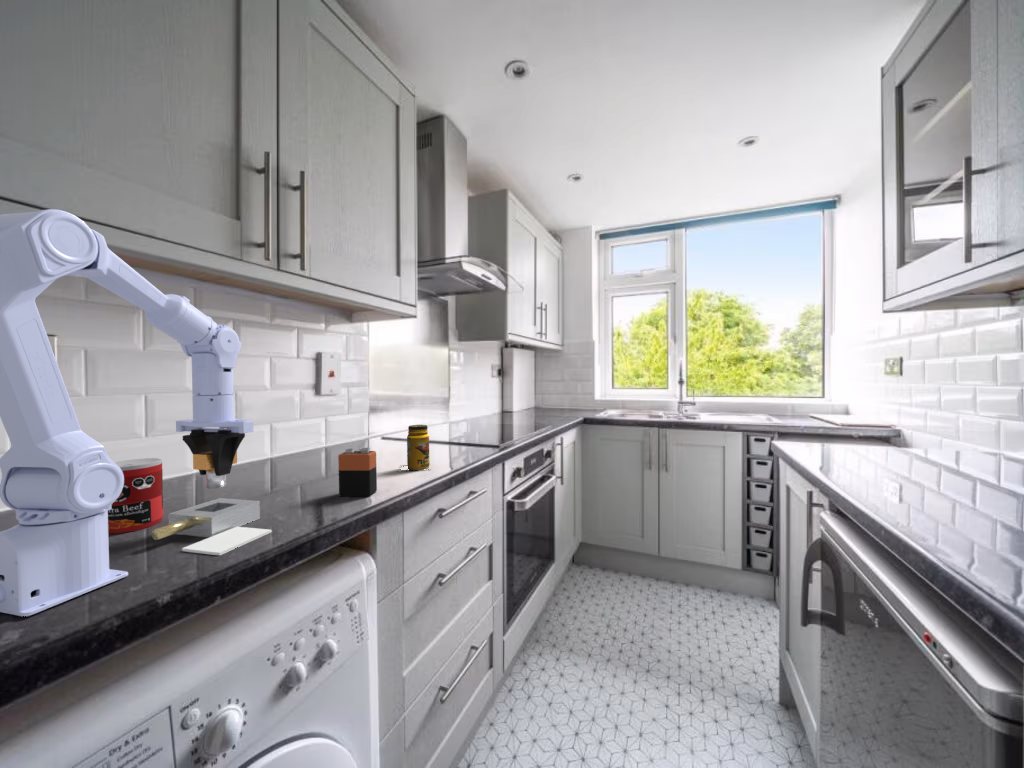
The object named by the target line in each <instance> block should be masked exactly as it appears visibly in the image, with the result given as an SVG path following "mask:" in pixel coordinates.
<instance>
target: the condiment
mask: <svg viewBox="0 0 1024 768" xmlns="http://www.w3.org/2000/svg"><path fill="white" fill-rule="evenodd" d="M428 428H429V427H428V425H426V424H412V425H411V424H410V425H409V426H408V430H407V433H408V434H407V437H406V462H407V465H405V464H404V465H403V464H402V465H401V464H400V466H401V467H402V466H403V467H404V466H408V469H409V470H424V469H427V470H426V471H430V470H432V466H431V463H430V435H429V434H428V432H429V430H428ZM400 466H399V467H400ZM429 467H431V468H430V469H429V470H428V468H429ZM399 470H400V471H399ZM399 470H398V472H399V473H401V472H410V471H409V470H407V471H406V470H403V471H401V469H400V468H399Z"/></svg>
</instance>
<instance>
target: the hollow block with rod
mask: <svg viewBox="0 0 1024 768" xmlns="http://www.w3.org/2000/svg"><path fill="white" fill-rule="evenodd" d="M260 504H261V501H260V500H252V499H240V498H239V499H238V498H225V497H219V498H216V499H212V500H210V501H206V502H203V503H200V504H197V505H193V506H192V505H191V506H188V507H186V508H183V509H179V510H177V511H173V512H169V513H168V515H167V516H168V518H167V519H168V524H166V525H164V526H161V527H158V528H155V529H153V530H152V532H151V537H152V539H153V540H155V541H158V540H161V539H164V538H166V537H170V536H173V535H181V536H182V535H184V536H191V537H200V538H201V537H202V538H209V537H212V536H214V535H217V534H220V533H222V532H225V531H227V530H230V529H232V528H235V527H244V525H247V523H248V524H249V523H253V522H255V521H257V520H261V505H260ZM252 521H253V522H252Z"/></svg>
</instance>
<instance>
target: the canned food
mask: <svg viewBox="0 0 1024 768" xmlns="http://www.w3.org/2000/svg"><path fill="white" fill-rule="evenodd" d="M113 462H114V463H116V464H117V465H118V466H119V467H120V468H121V470H122V472H123V475H124V485H123V489H122V492H121V493H120V495H119V497H118V498H117V499H116V500H115V501H114V502H113V503H112V509H111V510H108V534H124V533H130V532H135V531H140V530H145V529H147V528H150V527H153V526H155V525H158V524H159V523H161V521H162V520H163V517H164V489H163V488H164V486H163V484H164V483H163V481H164V480H163V475H164V474H163V461H162V458H158V457H157V458H156V457H153V458H152V457H151V458H149V457H147V458H137V459H135V458H134V459H128V460H127V459H126V460H121V461H113Z"/></svg>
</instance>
